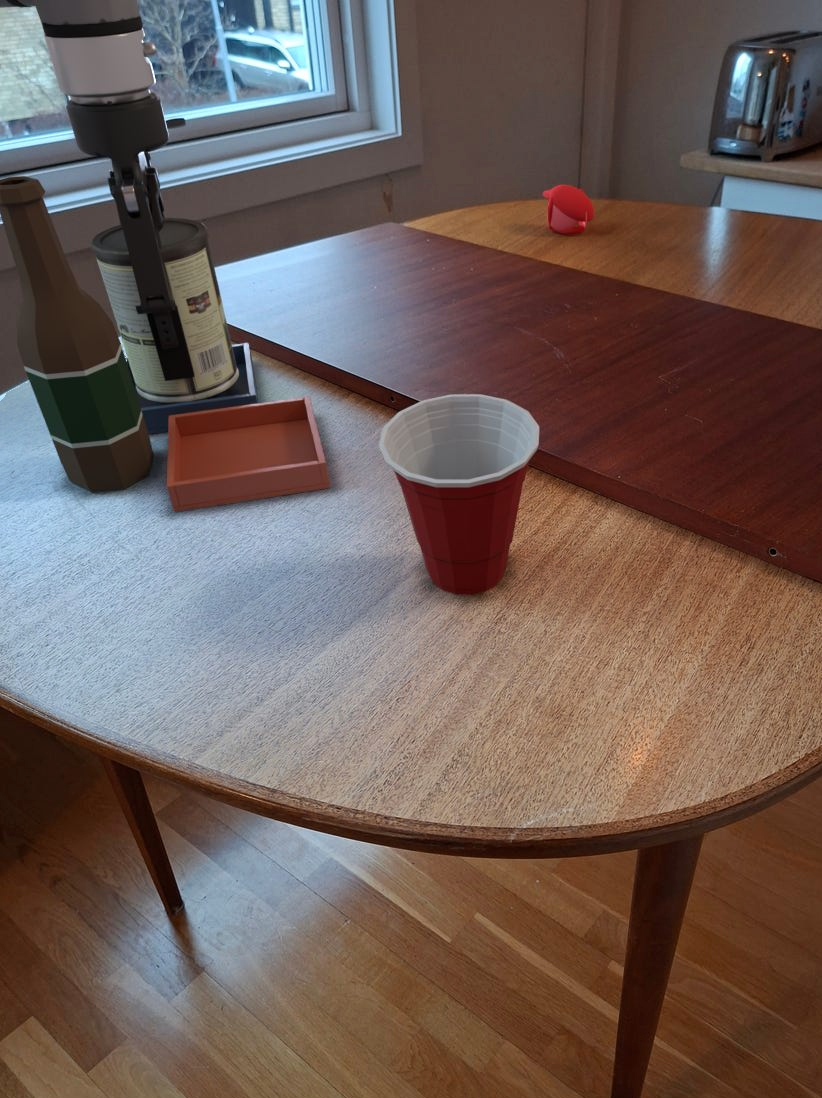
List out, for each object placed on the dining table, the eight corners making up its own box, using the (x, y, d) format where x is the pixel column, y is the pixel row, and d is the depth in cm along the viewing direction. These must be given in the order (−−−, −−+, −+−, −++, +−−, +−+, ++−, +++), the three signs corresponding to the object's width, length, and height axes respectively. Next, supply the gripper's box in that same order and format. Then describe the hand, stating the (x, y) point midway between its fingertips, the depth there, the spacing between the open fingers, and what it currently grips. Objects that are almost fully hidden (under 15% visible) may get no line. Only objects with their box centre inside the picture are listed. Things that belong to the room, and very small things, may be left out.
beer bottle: (173, 454, 81) (90, 168, 65) (130, 498, 76) (27, 197, 60) (98, 447, 83) (0, 165, 67) (50, 489, 77) (-70, 193, 61)
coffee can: (162, 357, 93) (123, 215, 84) (254, 362, 92) (224, 218, 82) (116, 401, 85) (67, 250, 76) (215, 407, 84) (178, 254, 75)
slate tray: (121, 438, 84) (114, 414, 82) (128, 380, 94) (121, 358, 92) (260, 418, 86) (255, 395, 84) (253, 364, 96) (248, 342, 94)
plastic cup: (373, 607, 63) (352, 461, 55) (420, 525, 71) (408, 387, 63) (519, 630, 61) (519, 481, 53) (551, 543, 69) (555, 401, 61)
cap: (599, 227, 129) (602, 182, 125) (586, 239, 125) (588, 193, 121) (548, 221, 132) (549, 178, 128) (534, 233, 127) (534, 188, 123)
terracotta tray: (174, 512, 74) (166, 486, 72) (175, 439, 83) (168, 415, 82) (330, 488, 76) (326, 462, 74) (313, 419, 86) (309, 396, 84)
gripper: (155, 117, 64) (222, 399, 79) (161, 69, 81) (215, 309, 96) (48, 126, 63) (136, 410, 78) (76, 75, 80) (144, 318, 94)
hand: (180, 355), depth 87 cm, fingers closed on coffee can, 10 cm apart
